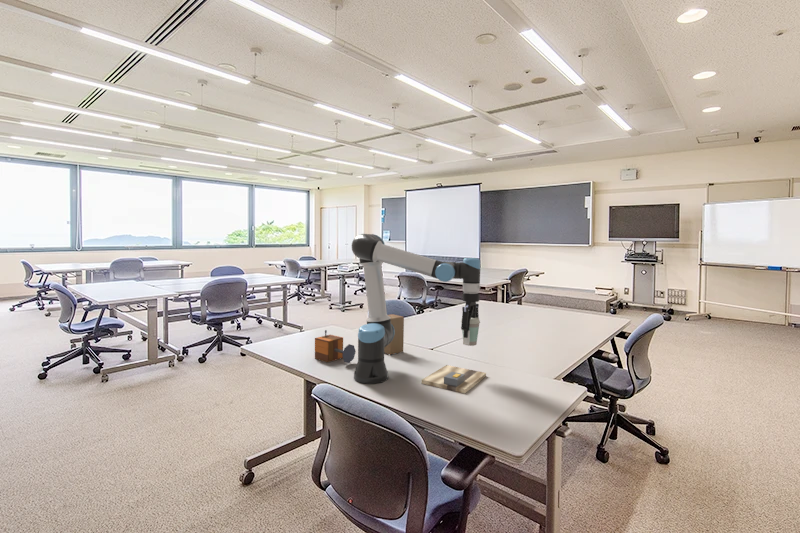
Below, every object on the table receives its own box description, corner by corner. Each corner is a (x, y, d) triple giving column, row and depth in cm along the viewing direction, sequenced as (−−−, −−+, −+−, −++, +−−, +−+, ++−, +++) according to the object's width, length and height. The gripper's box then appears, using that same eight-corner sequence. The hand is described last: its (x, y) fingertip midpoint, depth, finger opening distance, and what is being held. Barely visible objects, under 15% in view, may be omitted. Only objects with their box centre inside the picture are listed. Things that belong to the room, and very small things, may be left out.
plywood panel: (421, 383, 167) (421, 379, 167) (446, 368, 189) (446, 364, 189) (464, 393, 157) (464, 389, 157) (486, 376, 178) (486, 372, 178)
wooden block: (391, 348, 223) (392, 313, 222) (403, 352, 216) (404, 316, 214) (378, 351, 216) (378, 315, 215) (390, 355, 209) (390, 318, 208)
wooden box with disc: (341, 366, 189) (341, 337, 188) (314, 358, 201) (314, 331, 200) (356, 361, 197) (357, 333, 196) (330, 354, 209) (330, 328, 209)
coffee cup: (483, 344, 175) (483, 317, 175) (472, 347, 169) (473, 320, 168) (467, 340, 181) (467, 315, 181) (456, 344, 175) (457, 317, 174)
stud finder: (443, 383, 163) (443, 375, 163) (451, 378, 170) (451, 370, 170) (456, 386, 160) (457, 378, 160) (464, 381, 167) (464, 373, 166)
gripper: (470, 295, 163) (469, 348, 165) (487, 290, 181) (485, 339, 182) (453, 294, 167) (452, 346, 169) (471, 289, 185) (470, 337, 186)
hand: (469, 342), depth 175 cm, fingers closed on coffee cup, 8 cm apart
